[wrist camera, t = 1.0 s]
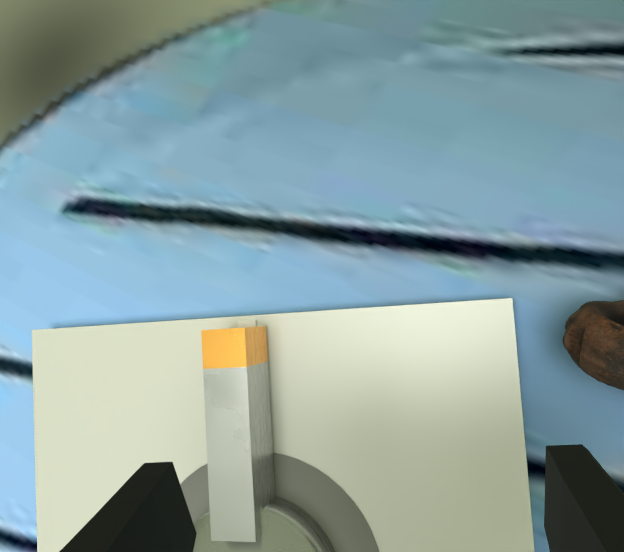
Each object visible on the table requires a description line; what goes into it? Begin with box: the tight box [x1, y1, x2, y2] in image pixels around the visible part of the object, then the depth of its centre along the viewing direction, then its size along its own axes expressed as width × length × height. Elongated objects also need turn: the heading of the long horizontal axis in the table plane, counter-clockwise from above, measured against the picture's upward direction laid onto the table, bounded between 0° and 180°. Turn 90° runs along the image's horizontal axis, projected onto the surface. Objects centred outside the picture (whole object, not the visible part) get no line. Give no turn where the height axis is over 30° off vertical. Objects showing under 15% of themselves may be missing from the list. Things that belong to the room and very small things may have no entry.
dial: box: [193, 326, 335, 552], centre depth 23 cm, size 14×7×3 cm, turn 4°
